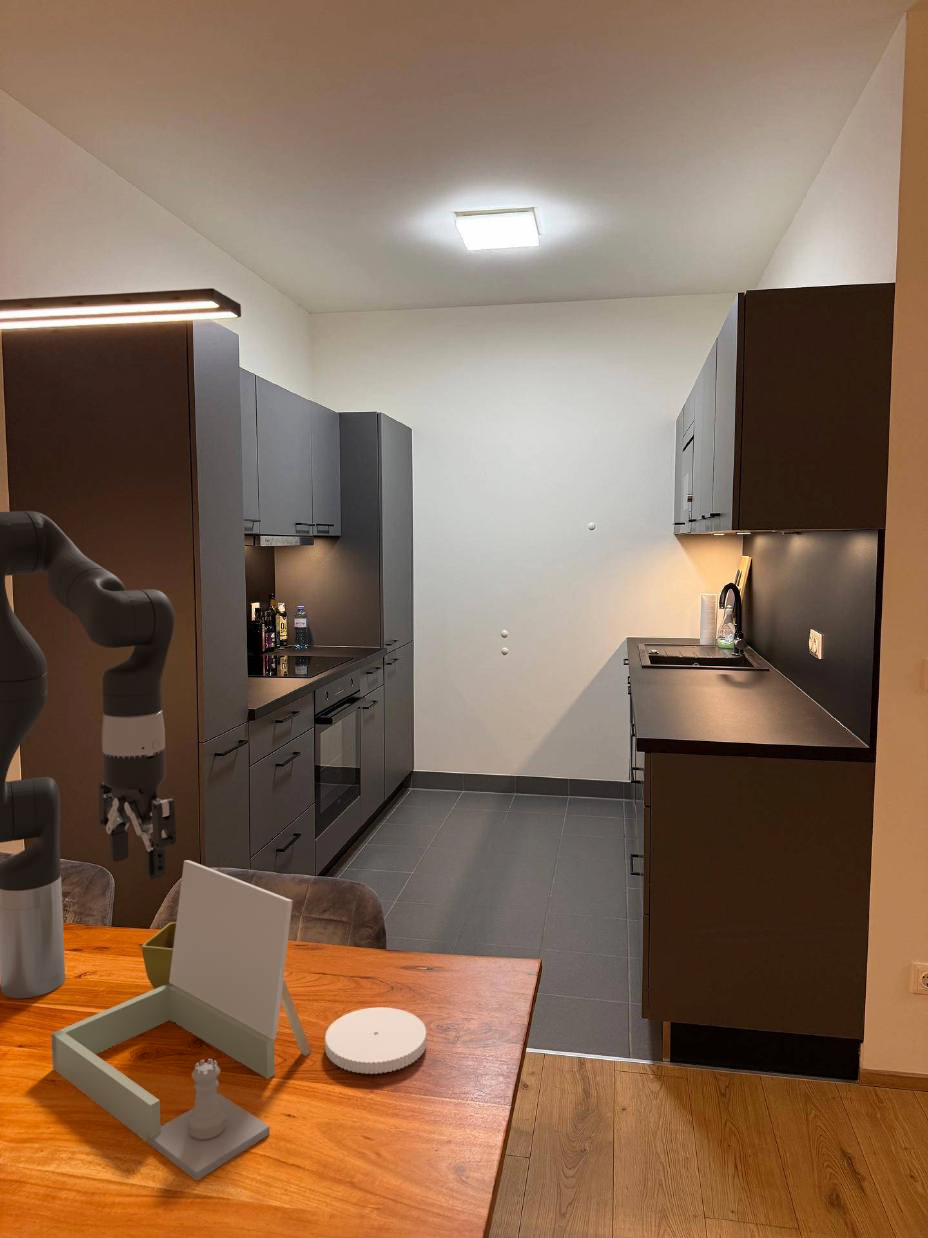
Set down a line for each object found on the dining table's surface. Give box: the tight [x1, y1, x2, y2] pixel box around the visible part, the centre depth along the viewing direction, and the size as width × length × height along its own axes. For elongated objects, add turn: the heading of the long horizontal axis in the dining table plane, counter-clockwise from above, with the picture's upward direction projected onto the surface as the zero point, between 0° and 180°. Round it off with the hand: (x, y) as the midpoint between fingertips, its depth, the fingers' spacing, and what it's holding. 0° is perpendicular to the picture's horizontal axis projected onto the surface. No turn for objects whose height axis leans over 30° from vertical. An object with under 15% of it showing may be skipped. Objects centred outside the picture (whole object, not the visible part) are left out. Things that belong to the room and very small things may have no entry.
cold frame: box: [51, 979, 312, 1145], centre depth 120 cm, size 24×24×12 cm
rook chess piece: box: [188, 1058, 227, 1140], centre depth 104 cm, size 4×4×8 cm
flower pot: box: [141, 921, 177, 990], centre depth 139 cm, size 9×9×9 cm
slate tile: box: [146, 1093, 271, 1182], centre depth 105 cm, size 10×10×1 cm
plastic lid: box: [324, 1006, 427, 1075], centre depth 123 cm, size 14×14×2 cm
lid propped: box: [169, 859, 293, 1040], centre depth 125 cm, size 24×4×18 cm, turn 51°
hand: (137, 868), depth 115 cm, fingers open, 8 cm apart
